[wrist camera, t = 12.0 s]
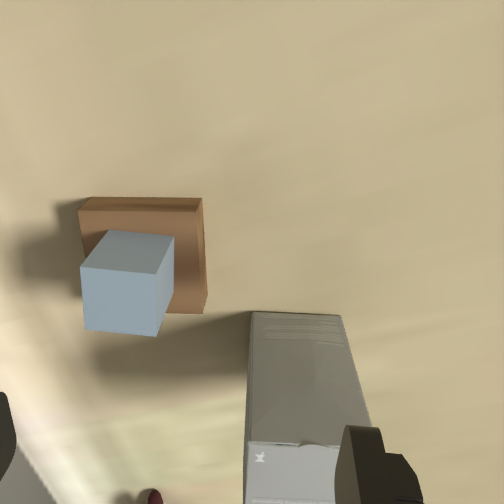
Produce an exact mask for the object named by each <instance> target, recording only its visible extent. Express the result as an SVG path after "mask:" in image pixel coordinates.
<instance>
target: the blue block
mask: <svg viewBox="0 0 504 504" xmlns="http://www.w3.org/2000/svg"><path fill="white" fill-rule="evenodd" d="M80 276H81V288H82V299H83V310H84V322H85V330H94V331H104V332H114V333H124V334H133V335H143V336H153V337H156V336H157V334H158V331H159V328H160V326H161V323H162V321H163V318H164V316H165V313H166V310H167V308H168V305H169V303H170V300H171V297H172V295H173V292H174V236H168V235H158V234H148V233H138V232H128V231H118V230H108V232H107V233H106V234H105V236H104V237H103V238H102V239H101V241H100V242H99V243H98V244H97V246H96V247H95V248H94V249H93V251H92V252H91V253H90V254H89V256H88V257H87V258H86V259H85V261H84V262H83V263H82V265H81V266H80Z"/></svg>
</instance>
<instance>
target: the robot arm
mask: <svg viewBox="0 0 504 504" xmlns="http://www.w3.org/2000/svg"><path fill="white" fill-rule="evenodd" d="M15 449H16V433H15V429H14V424H13V420H12V416H11V412H10V407H9V403H8V399H7V396H6V394H5V393H4V392H0V481H1V479H2V477H3V476H4V474H5V472H6V470H7V469H8V467H9V465H10V463H11V461H12V459H13V456H14V453H15ZM334 493H335V504H424V503H423V496H422V492H421V489H420V485H419V482H418V478H417V475H416V474H415V472H414V471H413V469H412V468H411V467H410V465H409V464H408V462H407V461H406V460H405V458H404V457H403V455H402V454H393V453H385V449H384V444H383V440H382V436H381V432H380V430H379V428H377V427H366V426H355V425H346V426H345V428H344V432H343V436H342V441H341V445H340V450H339V454H338V459H337V463H336V468H335V478H334Z"/></svg>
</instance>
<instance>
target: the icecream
mask: <svg viewBox="0 0 504 504" xmlns="http://www.w3.org/2000/svg"><path fill="white" fill-rule="evenodd" d="M148 504H163V500H162V497H161V495H160V493H159V492H158V491H157V490H156V491H153V492H152V493H151V494H150V496H149V498H148Z"/></svg>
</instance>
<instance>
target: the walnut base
mask: <svg viewBox="0 0 504 504" xmlns="http://www.w3.org/2000/svg"><path fill="white" fill-rule="evenodd" d="M77 213H78V218H79V224H80V229H81V235H82V240H83V246H84V252H85V257H86V258H87V257H88V256H89V254H90V253H91V252H92V251H93V249H94V248H95V247H96V246H97V244H98V243H99V242H100V241H101V239H102V238H103V237H104V236H105V234H106V233H107V232H108V230H118V231H128V232H138V233H148V234H158V235H168V236H174V292H173V295H172V297H171V300H170V303H169V305H168V308H167V310H166V313H181V314H203V310H204V306H205V303H206V299H207V295H208V293H207V275H206V258H205V241H204V224H203V207H202V198H155V197H91V198H90V199H89V200H88V201H87V202H86V203H85V204H84V205H82V206H81V207H80V208H79V209H78V210H77Z"/></svg>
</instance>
